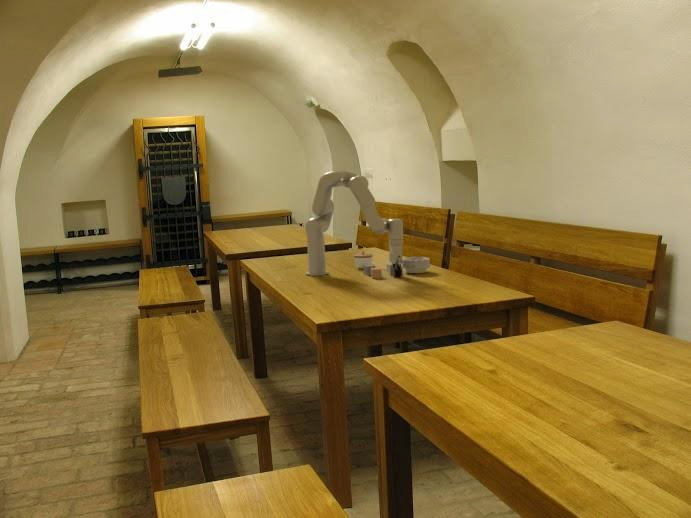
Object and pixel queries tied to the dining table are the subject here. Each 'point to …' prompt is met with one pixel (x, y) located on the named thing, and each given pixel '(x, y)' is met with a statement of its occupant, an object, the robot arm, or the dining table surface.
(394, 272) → the walnut block
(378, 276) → the terracotta block
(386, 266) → the sage block
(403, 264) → the paper bowls
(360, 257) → the lidded jar
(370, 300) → the dining table surface
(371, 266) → the slate block
